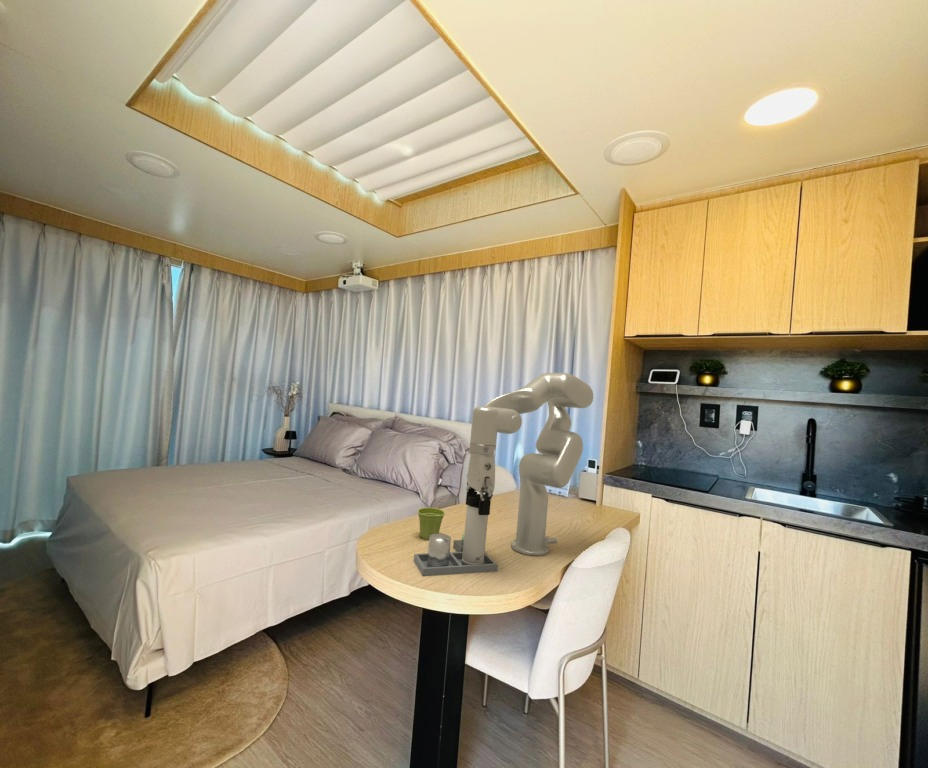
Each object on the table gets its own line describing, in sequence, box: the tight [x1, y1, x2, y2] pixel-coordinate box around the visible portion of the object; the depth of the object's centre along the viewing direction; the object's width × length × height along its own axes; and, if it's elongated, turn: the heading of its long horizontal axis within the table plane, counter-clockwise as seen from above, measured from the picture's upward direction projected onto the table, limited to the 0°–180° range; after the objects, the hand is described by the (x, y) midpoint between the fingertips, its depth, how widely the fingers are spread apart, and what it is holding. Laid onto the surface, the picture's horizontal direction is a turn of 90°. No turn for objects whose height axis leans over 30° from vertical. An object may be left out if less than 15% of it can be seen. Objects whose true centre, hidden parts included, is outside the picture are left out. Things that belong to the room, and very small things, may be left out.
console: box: [452, 539, 463, 552], centre depth 124 cm, size 7×7×3 cm
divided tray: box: [413, 551, 499, 577], centre depth 112 cm, size 21×10×3 cm, turn 110°
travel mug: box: [462, 493, 489, 565], centre depth 114 cm, size 6×7×20 cm
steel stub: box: [427, 533, 452, 567], centre depth 110 cm, size 6×6×8 cm
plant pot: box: [417, 507, 446, 541], centre depth 136 cm, size 9×9×9 cm
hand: (477, 509), depth 115 cm, fingers open, 9 cm apart
